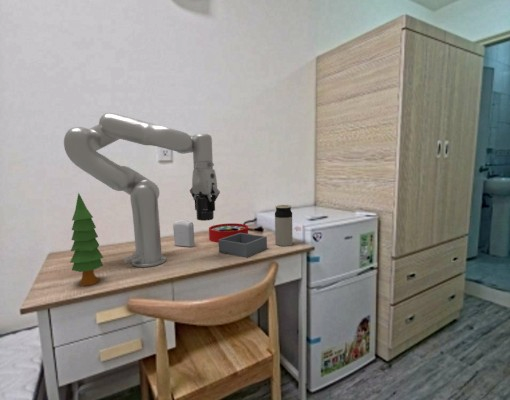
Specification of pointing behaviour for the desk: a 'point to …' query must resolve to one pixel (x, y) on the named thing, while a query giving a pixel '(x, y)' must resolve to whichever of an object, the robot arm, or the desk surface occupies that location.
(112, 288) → the desk surface
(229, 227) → the toy clock
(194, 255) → the desk surface
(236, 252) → the box
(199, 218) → the supplement bottle
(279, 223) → the travel mug
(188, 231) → the photo printer
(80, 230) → the decorative tree
